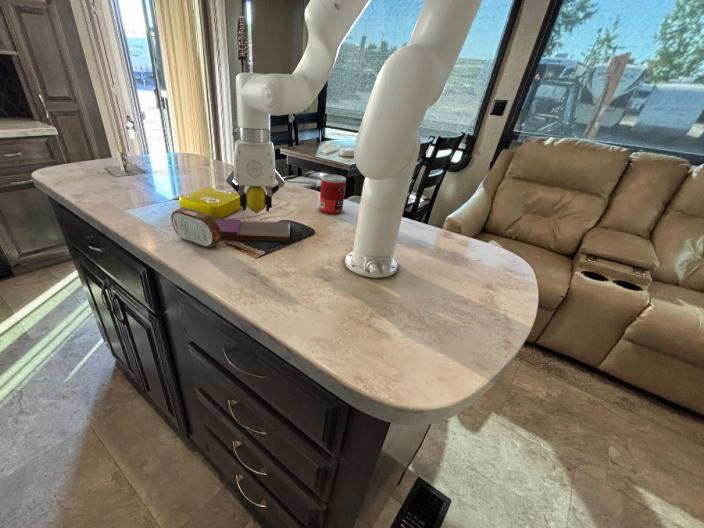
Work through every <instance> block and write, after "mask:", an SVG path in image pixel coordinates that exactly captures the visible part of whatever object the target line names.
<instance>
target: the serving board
mask: <svg viewBox="0 0 704 528" xmlns="http://www.w3.org/2000/svg"><path fill="white" fill-rule="evenodd" d="M215 221H216V220H215ZM221 240H223V241H224V240H225V241H226V240H228V241H253V242H254V241H255V242H261V241H262V242H285V243H289V242H290V222H279V221H277V222H274V221H249V220H248V221H247V220H241V223H240V226H239V229H238V232H237V234H222V233H221Z"/></svg>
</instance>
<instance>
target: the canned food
mask: <svg viewBox="0 0 704 528" xmlns="http://www.w3.org/2000/svg"><path fill="white" fill-rule="evenodd" d="M346 185H347V178H346V177H345V176H343V175H338V174H332V173H331V174H329V173H328V174H324V175H321V181H320V194H319V205H318V208H319V211H320V212H321V213H323V214H324V215H325V214H326V215H332V216H333V215H334V216H335V215H339V214H341V213H342V212H343V210H344V209H343V208H344V200H345V192H346Z"/></svg>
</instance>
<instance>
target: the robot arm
mask: <svg viewBox="0 0 704 528" xmlns="http://www.w3.org/2000/svg"><path fill="white" fill-rule="evenodd" d="M371 1H372V0H309V2H308V3H307V5H306V7H305V9H304V22H305V24H306V28H307V33H308V36H307V37H308V39H307V40H308V41H307V43H306V44H307V45H306V49H305V51H304V54H303V55H302V58H301V59H300V61H299V63H298V64H297V66H296V68H295V69H294V71H293V72H292V73H265V74H264V73H258V72H239V73H238V74H237V75H236V78H235V92H236V93H235V95H236V114H237V116H236V117H237V127H236V128H232V129H231V135H232V136H235V137H237V140H235V142H234V150H233V151H234V152H233V153H234V154H233V170H232V171H231V172H230V173H229V174H228V176H226V178H225V182H226V183H227V184H228V185H229V186H231V188H232V189H233V190H234V191H235V193H238V194H239V195H240V206H242V211H243V212H244V211H246V210H247V208H248V206H247V204H246V187H250V186H259V187H262V188H264V189H265V192H266V206H265V211H266V212H267V213H269V212H270V209H272V208H273V202H272V201H273V196H274V195H275V194H276V193H277V192H278V191H279V190H280V189H281V188H282V187H284V185H285V184H286V180H285V179H284V178H283V177H282V176H281V175H280V173H279V172H278V171H277V170H276V155H275V154H276V153H275V147H274V146H275V145H274V143H273V142H272V141H271V116H275V117H278V116H287V115H293V114H294V115H296V114H300V113H302V112H304V111H305V110H307V109H308V108H309V107H310V106H311V105H312V104H313V102H314V101H315V100H316V99H317V97H318V95H319V94H320V93H321V91H322V90H323V88H324V87H325V85H326V83H327V82H328V81H329V78H330V76H331V74H332V72H333V69H334V67H335V64H336V61H337V58H338V55H339V51H340V48H341V46H342V44H343V43H344V41H345V40H346V38H347V37H348V35H349V33H350V32H351V30H352V29H353V27H354V26H355V24H356V23H357V22H358V20H359V19H360V17H361V15H362V14H363V13H364V11H365V9H366V8H367V6H368V5H369V4H370V2H371ZM482 3H483V0H424V1H423V4H422V5H421V8H420V11H419V13H418V16H417V19H416V22H415V25H414V28H413V30H412V33H411V36H410V39H409V41H408V43H407V44H406V45H404V46H401V47H400V48H398V49H397V50H395V51H394V52H393V53H392V54H390V56H389V57H388V58H387V59H386V61H384V63H383V64H382V67H381V68H380V70H379V72H378V75H377V77H376V79H375V82H374V85H373V88H372V91H371V93H370V96H369V100H368V102H367V105H366V108H365V111H364V114H363V117H362V120H361V123H360V126H359V129H358V132H357V135H356V139H355V141H354V148H353V159H354V163H355V166H356V167H357V170H358V171H359V172H360V174H361V175H362V176H363V177H365V178H364V180H363V185H362V191H361V197H360V201H359V207H358V208H359V209H358V215H357V222H356V228H355V235H354V240H353V241H354V242H353V248H352V251H351V252H349V253H348V254H346V256H345V258H344V264H345V266H346V267H347V269H348V270H349V271H351V272H353V273H354V274H356V275H360V276H363V277H365V278H366V277H367V278H372V279H373V278H375V279H378V278H379V279H380V278H387V277H390V276H392V275H394V274H395V273H396V272H397V270H398V266H399V265H398V262H397V261H396V259H395V258H394V254H395V250H396V245H397V241H398V236H399V232H400V228H401V223H402V219H403V215H404V210H405V206H406V203H407V198H408V196H409V195H408V194H409V190H410V186H411V183H412V179H413V176H414V173H415V169H416V166H417V164H418V159H419V156H420V151H421V135H420V132H419V129H420V128H421V125H422V122H423V120H424V118H425V116H426V113H427V112H428V110H430V109H431V108H432V107H433V106H435V105H436V104H437V103H438V101H439V100H440V99H441V97H442V95H443V94H444V91H445V88H446V86H447V83H448V81H449V78H450V76H451V74H452V71H453V70H454V67H455V65H456V63H457V60H458V58H459V56H460V54H461V51H462V49H463V47H464V45H465V43H466V40H467V37H468V35H469V32H470V30H471V28H472V25H473V23H474V21H475V19H476V17H477V14H478V12H479V9H480V7H481V5H482ZM276 181H277V183H276V184H275V182H276Z"/></svg>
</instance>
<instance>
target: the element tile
mask: <svg viewBox="0 0 704 528" xmlns="http://www.w3.org/2000/svg"><path fill="white" fill-rule="evenodd" d="M178 201H179V206H180V207H179V208H181V207H186V208H189V209H192V210H195V211H199V212H202V213H205V214H208V215H209V216H211V217H212V218H213V219H214V220H216V219H224V218H225V217H228V216H229V215H231V214H233V213H235V212H237V211H239V210H241V209H243V206H240V195H239V194H238V193H237V192H232V191H229V190H224V189H220V188H219V189H218V188H214V187H210V186H209V187H204V188H201V189H198V190H195V191H193V192H189V193H187V194H184V195H181V196H179V198H178Z"/></svg>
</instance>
